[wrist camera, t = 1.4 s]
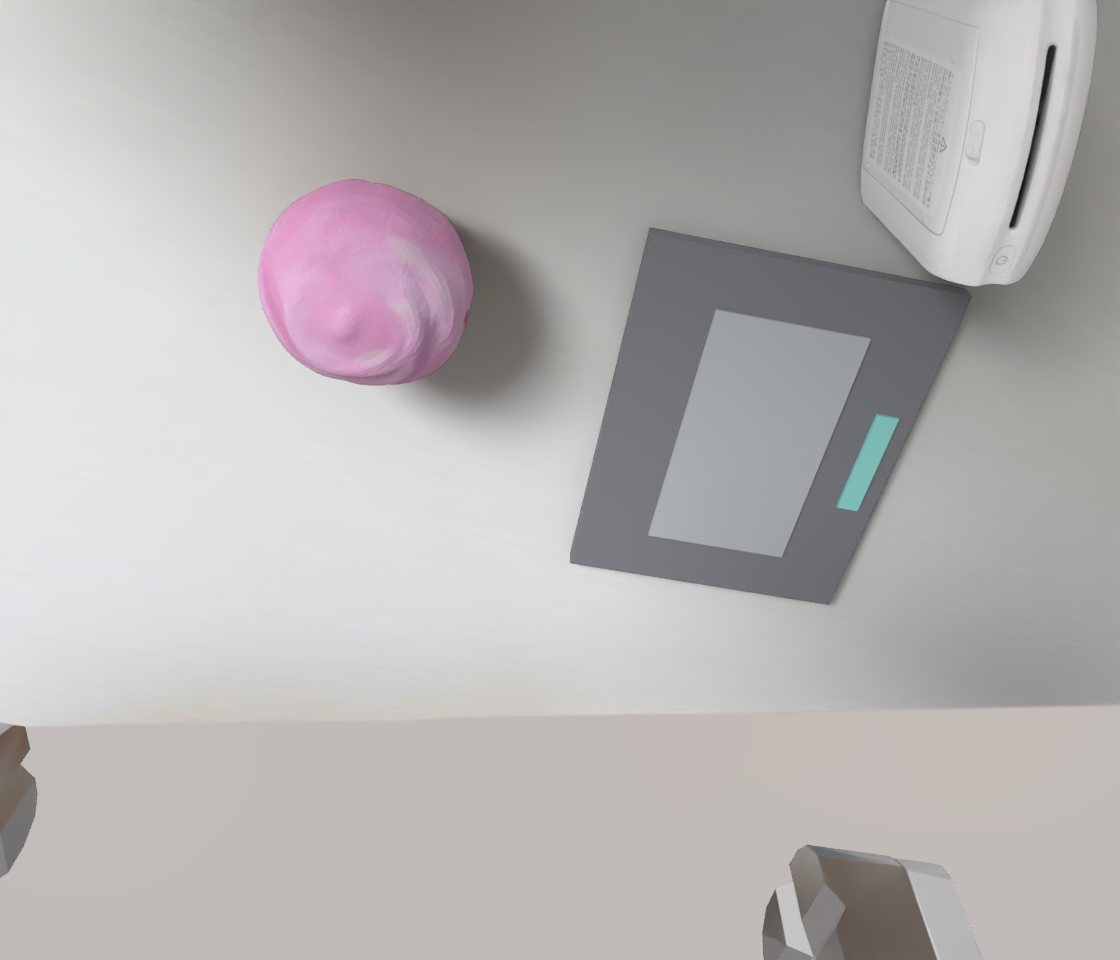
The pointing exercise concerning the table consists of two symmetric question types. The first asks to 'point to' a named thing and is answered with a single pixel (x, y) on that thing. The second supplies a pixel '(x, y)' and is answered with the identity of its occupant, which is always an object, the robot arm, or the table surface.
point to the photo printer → (976, 128)
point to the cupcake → (365, 283)
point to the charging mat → (756, 415)
